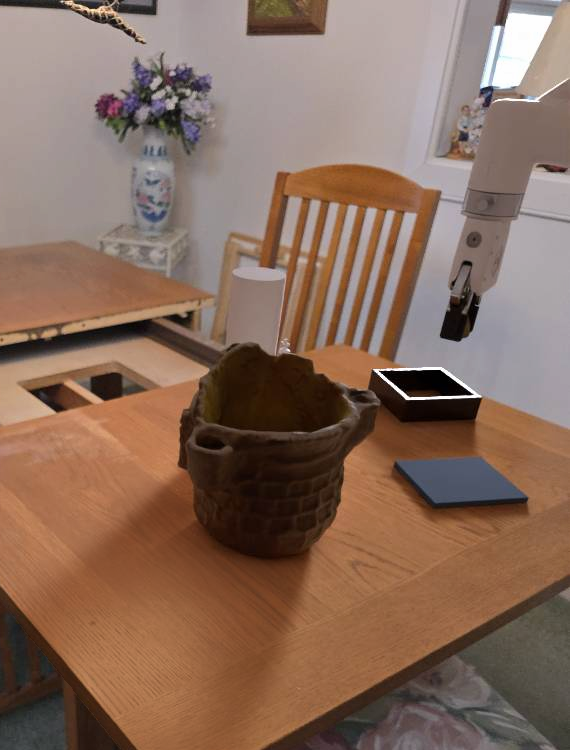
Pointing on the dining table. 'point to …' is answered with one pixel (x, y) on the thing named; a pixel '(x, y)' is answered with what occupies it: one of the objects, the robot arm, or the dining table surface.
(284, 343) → the chess piece
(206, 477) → the ceramic vessel
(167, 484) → the dining table surface
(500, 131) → the robot arm
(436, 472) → the mat
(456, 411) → the basin
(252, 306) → the cylindrical container
